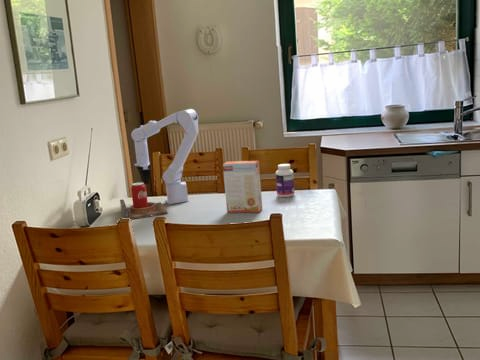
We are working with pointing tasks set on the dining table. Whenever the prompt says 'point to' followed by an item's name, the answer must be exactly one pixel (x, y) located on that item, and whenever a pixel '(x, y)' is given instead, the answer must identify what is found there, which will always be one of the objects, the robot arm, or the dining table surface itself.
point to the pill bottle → (284, 181)
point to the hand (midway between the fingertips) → (145, 182)
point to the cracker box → (242, 186)
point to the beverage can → (139, 195)
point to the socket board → (142, 210)
